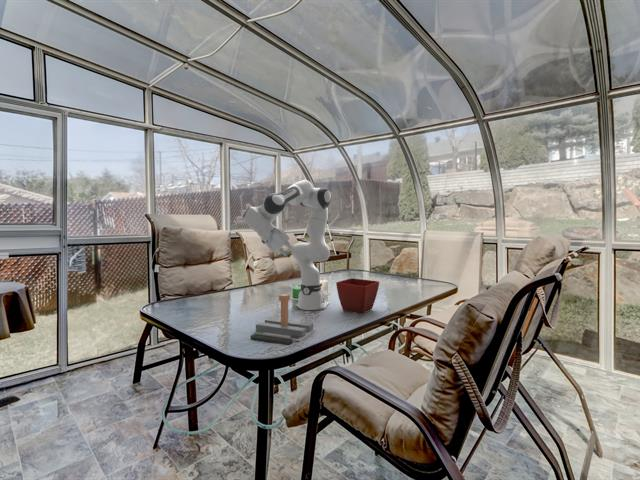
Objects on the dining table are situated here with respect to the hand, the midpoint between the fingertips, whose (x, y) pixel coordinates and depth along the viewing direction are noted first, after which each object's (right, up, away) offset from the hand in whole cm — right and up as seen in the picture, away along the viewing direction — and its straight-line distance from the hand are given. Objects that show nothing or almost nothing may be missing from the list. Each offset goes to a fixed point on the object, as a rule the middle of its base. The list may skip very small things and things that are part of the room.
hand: (289, 252), depth 174 cm
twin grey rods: (-6, -38, -23) cm, 44 cm away
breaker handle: (-1, -36, -12) cm, 38 cm away
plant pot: (+37, -35, +28) cm, 59 cm away
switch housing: (-1, -37, -12) cm, 39 cm away
